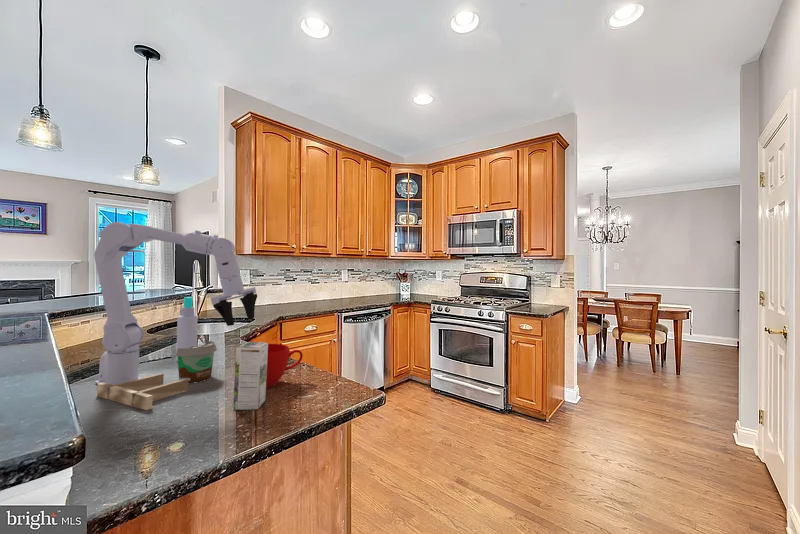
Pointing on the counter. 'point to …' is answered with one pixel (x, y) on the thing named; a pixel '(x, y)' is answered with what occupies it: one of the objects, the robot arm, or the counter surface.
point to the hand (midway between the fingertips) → (241, 321)
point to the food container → (196, 362)
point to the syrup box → (250, 375)
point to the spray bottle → (187, 326)
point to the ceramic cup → (278, 362)
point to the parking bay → (141, 390)
